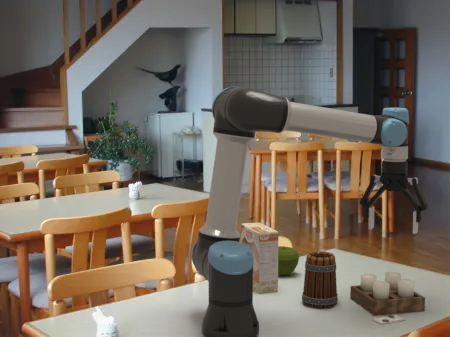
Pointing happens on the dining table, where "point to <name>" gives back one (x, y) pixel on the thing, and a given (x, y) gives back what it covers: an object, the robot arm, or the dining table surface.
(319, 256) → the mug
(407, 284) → the button
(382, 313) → the wooden compartment tray
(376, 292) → the button
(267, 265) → the coffeecake box
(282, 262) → the apple
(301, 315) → the dining table surface
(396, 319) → the card
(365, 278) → the button
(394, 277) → the button
